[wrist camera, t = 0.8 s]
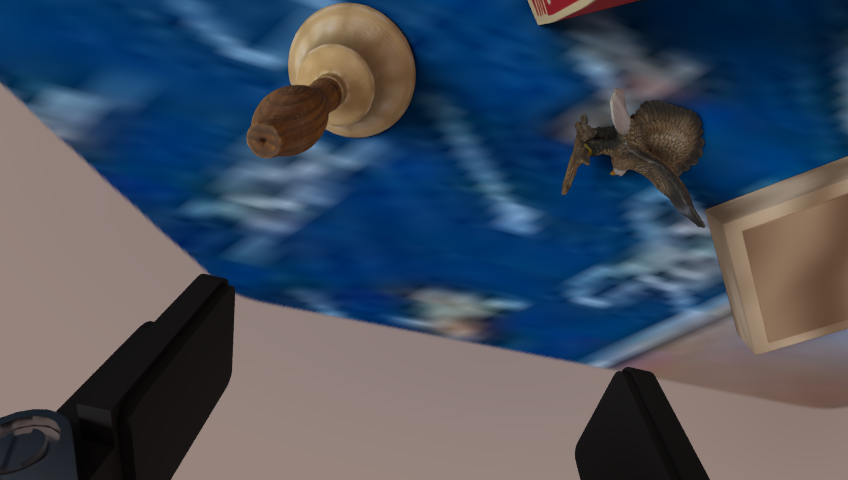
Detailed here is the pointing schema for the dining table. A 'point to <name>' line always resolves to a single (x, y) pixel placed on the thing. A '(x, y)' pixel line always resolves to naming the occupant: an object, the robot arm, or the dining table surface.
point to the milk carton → (569, 8)
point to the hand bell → (337, 82)
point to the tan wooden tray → (786, 257)
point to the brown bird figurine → (645, 147)
